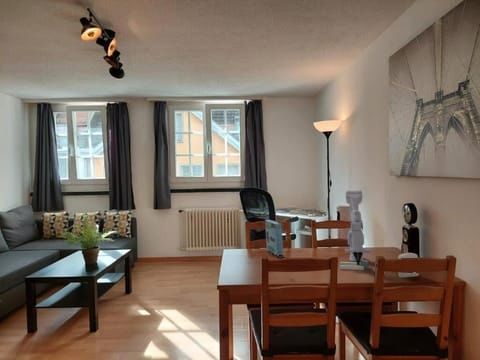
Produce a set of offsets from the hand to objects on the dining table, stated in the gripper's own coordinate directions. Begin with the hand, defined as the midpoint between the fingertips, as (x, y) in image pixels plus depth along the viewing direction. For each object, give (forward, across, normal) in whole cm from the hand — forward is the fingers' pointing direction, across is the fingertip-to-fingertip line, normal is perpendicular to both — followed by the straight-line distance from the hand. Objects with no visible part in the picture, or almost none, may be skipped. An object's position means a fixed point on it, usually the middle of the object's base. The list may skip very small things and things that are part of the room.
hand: (358, 264), depth 197 cm
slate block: (+2, +3, 0) cm, 4 cm away
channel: (+2, -4, 0) cm, 4 cm away
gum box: (+2, -56, +28) cm, 62 cm away
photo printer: (+2, +25, -12) cm, 27 cm away
